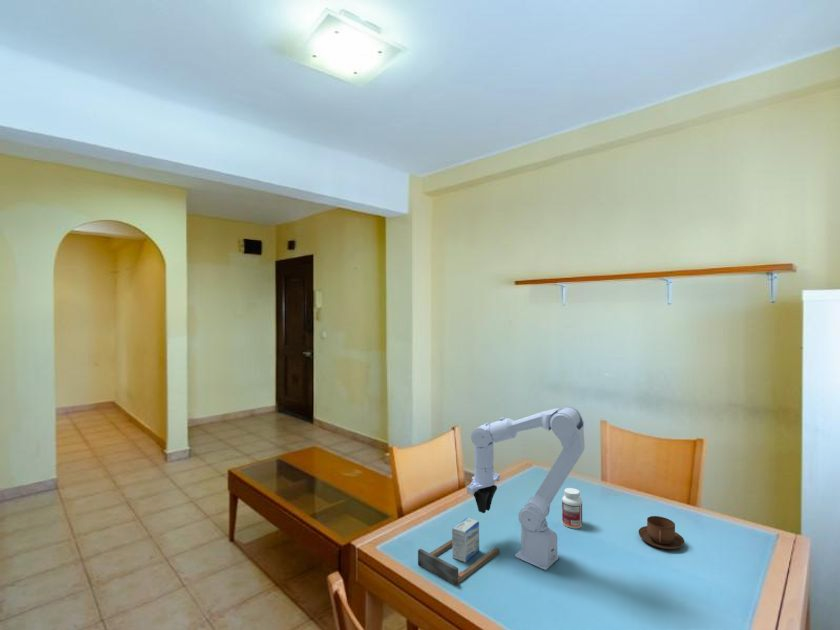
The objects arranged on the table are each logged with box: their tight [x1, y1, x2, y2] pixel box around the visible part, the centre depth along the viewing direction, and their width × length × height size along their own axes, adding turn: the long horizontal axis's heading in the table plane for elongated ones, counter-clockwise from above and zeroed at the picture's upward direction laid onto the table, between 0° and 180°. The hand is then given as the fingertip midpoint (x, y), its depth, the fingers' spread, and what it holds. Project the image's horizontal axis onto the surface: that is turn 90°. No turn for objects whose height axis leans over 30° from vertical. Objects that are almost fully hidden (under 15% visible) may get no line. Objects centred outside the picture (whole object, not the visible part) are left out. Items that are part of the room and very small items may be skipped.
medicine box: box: [451, 517, 480, 563], centre depth 123 cm, size 8×4×9 cm, turn 143°
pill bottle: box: [561, 487, 583, 530], centre depth 140 cm, size 6×6×11 cm
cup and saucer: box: [638, 515, 685, 550], centre depth 129 cm, size 12×12×6 cm
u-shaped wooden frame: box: [417, 539, 500, 586], centre depth 121 cm, size 13×20×4 cm, turn 137°
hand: (484, 510), depth 130 cm, fingers closed
